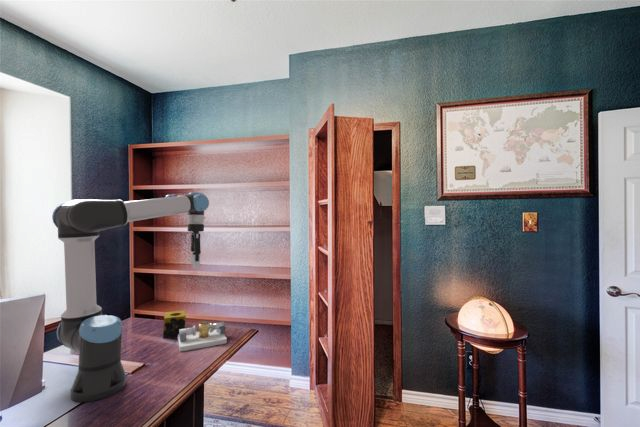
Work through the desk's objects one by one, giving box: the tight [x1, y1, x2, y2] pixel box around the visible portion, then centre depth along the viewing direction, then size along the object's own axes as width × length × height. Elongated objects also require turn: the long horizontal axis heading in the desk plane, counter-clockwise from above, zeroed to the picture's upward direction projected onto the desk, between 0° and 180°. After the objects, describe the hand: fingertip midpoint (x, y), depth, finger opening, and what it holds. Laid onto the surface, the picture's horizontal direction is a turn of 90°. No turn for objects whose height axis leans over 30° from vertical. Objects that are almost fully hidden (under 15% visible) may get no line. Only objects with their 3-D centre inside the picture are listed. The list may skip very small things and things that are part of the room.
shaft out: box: [209, 321, 226, 335], centre depth 146 cm, size 7×5×6 cm
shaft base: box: [177, 325, 228, 352], centre depth 142 cm, size 20×16×8 cm
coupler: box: [198, 320, 210, 338], centre depth 143 cm, size 5×5×7 cm
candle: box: [162, 310, 187, 339], centre depth 151 cm, size 10×10×10 cm
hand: (195, 266), depth 148 cm, fingers open, 13 cm apart
